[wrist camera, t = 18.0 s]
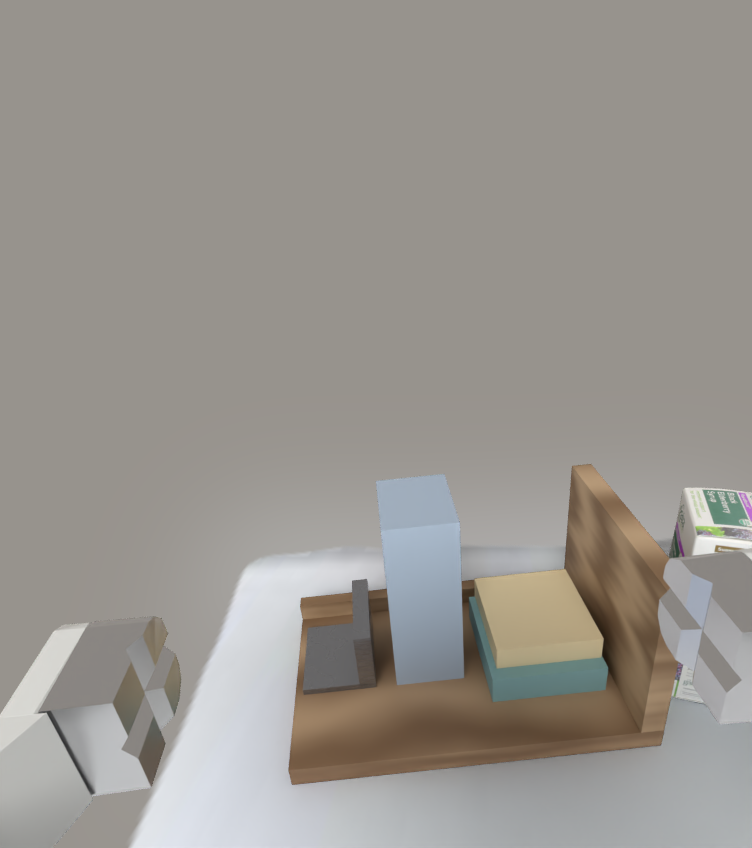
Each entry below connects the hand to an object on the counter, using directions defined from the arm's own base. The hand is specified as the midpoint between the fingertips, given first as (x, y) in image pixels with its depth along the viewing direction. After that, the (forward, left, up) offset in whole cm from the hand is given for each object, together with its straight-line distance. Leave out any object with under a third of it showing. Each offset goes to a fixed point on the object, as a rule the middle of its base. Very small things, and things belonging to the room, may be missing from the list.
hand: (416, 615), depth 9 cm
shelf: (-4, -23, -30) cm, 38 cm away
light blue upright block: (-2, -24, -28) cm, 37 cm away
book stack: (-10, -23, -28) cm, 38 cm away
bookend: (+5, -24, -28) cm, 37 cm away
